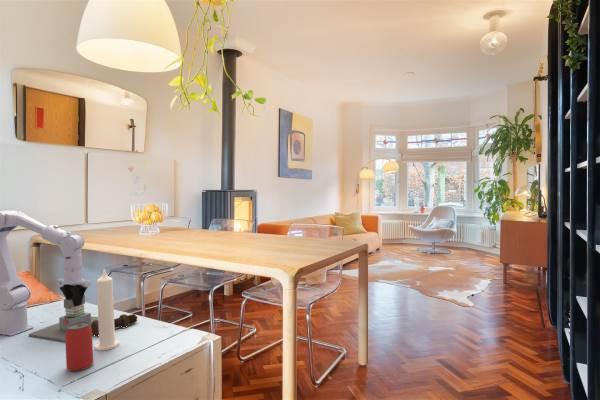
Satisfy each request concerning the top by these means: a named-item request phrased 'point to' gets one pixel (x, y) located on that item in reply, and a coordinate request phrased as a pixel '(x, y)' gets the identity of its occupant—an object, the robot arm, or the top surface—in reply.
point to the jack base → (61, 327)
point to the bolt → (115, 322)
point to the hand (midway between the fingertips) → (74, 304)
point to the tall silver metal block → (73, 308)
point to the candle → (106, 313)
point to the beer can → (79, 346)
